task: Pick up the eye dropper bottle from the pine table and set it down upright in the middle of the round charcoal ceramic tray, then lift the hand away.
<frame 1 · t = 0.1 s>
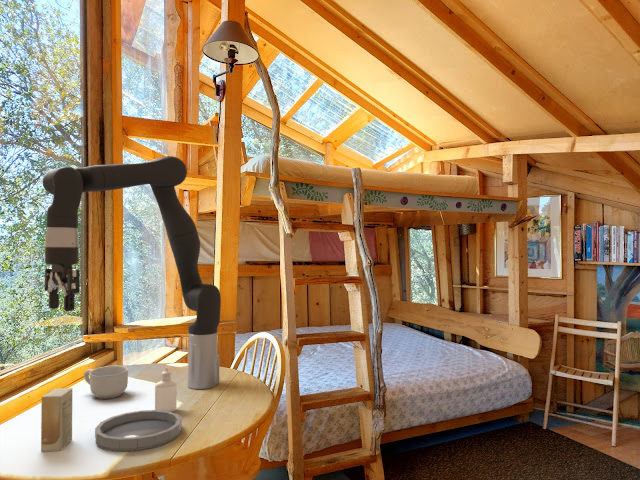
hand: (61, 309, 121), 29 cm above the table, fingers open, 8 cm apart
skincare box: (56, 446, 108), on the table
teacup: (105, 395, 145), on the table
eye dropper bottle: (165, 411, 131), on the table
round tray: (139, 435, 114), on the table
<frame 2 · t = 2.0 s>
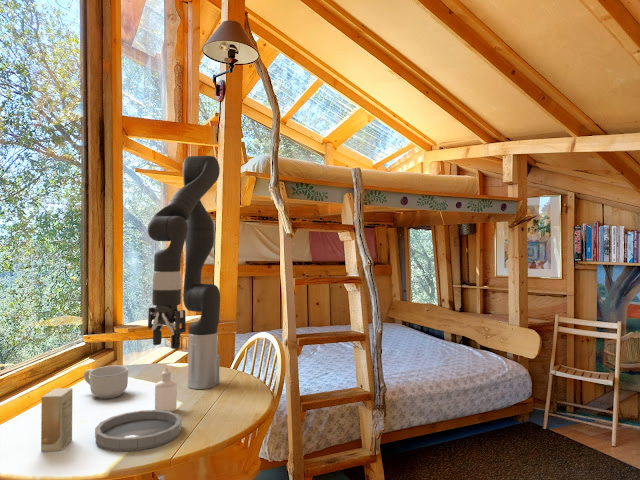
hand: (166, 346, 132), 18 cm above the table, fingers open, 8 cm apart
nothing on the table moved.
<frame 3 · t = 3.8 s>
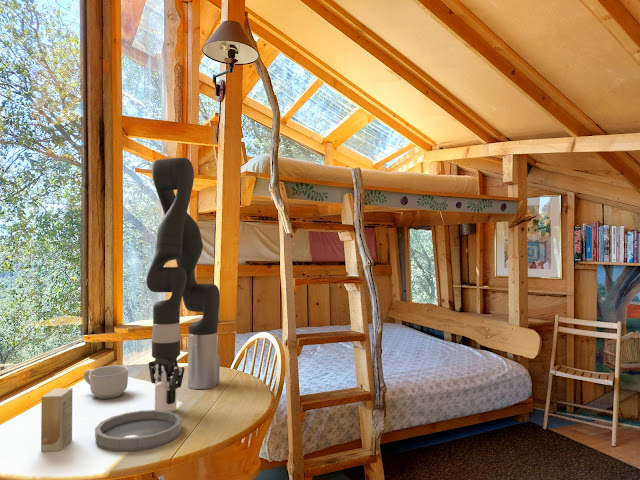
hand: (165, 401, 131), 3 cm above the table, fingers closed on eye dropper bottle, 4 cm apart
eye dropper bottle: (165, 411, 131), on the table, touching gripper
everything else where it was.
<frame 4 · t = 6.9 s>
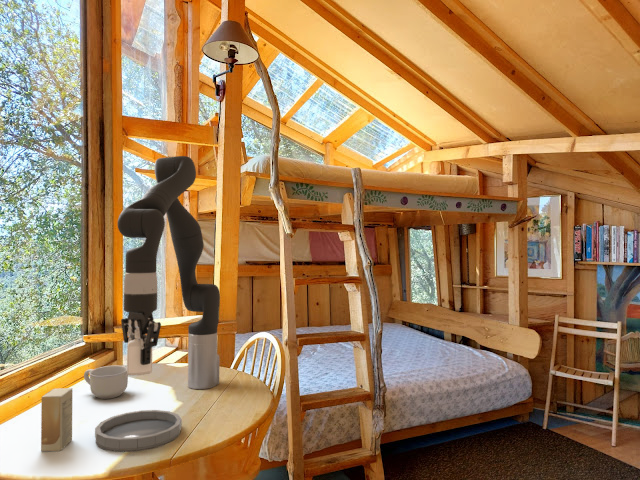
hand: (139, 362, 114), 17 cm above the table, fingers closed on eye dropper bottle, 4 cm apart
eye dropper bottle: (139, 374, 114), point 14 cm above the table, touching gripper
everything else where it was.
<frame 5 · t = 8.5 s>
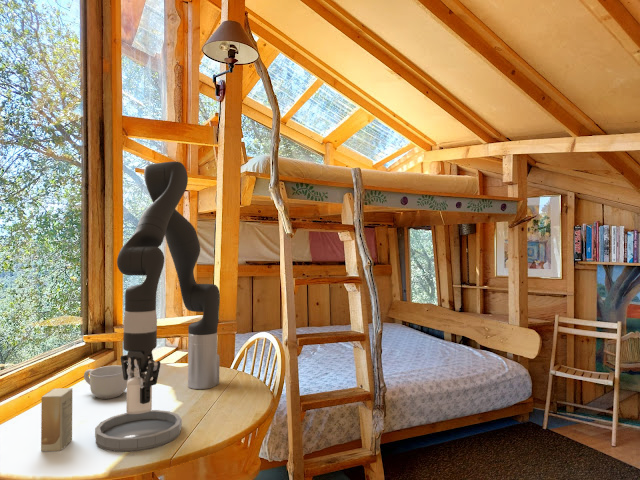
hand: (139, 400, 114), 8 cm above the table, fingers closed on eye dropper bottle, 4 cm apart
eye dropper bottle: (139, 412, 114), point 5 cm above the table, touching gripper
everything else where it was.
when the fingers open (5 cm above the table, at t = 10.0 s): eye dropper bottle drops 1 cm, resting on round tray.
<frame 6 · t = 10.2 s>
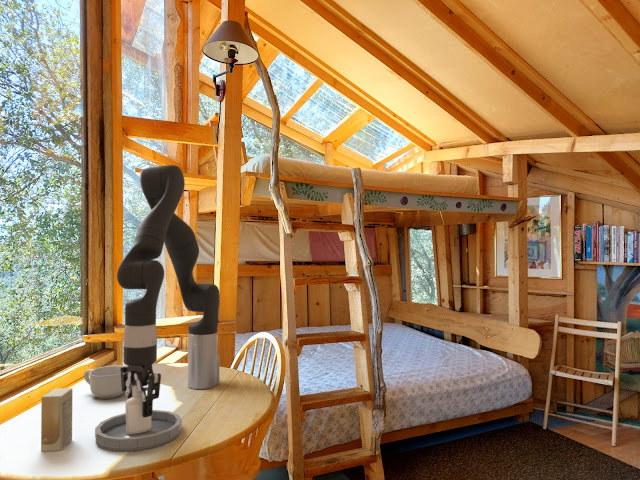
hand: (139, 413, 114), 5 cm above the table, fingers open, 6 cm apart
eye dropper bottle: (139, 432, 114), point 1 cm above the table, touching round tray
everything else where it was.
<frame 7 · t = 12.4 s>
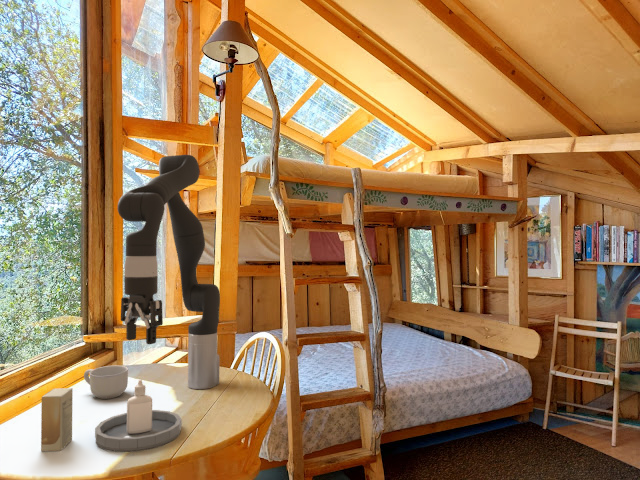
hand: (140, 341, 115), 22 cm above the table, fingers open, 8 cm apart
nothing on the table moved.
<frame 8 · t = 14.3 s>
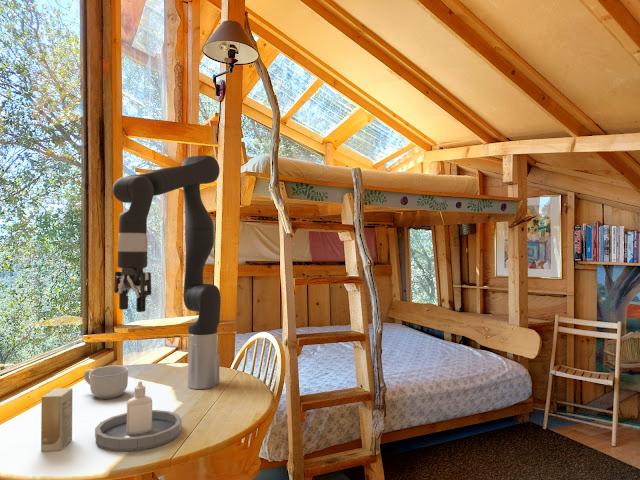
hand: (132, 310, 128), 28 cm above the table, fingers open, 8 cm apart
nothing on the table moved.
at the end: eye dropper bottle inside the target area on the round tray (0.1 cm from its centre), point 0.6 cm above the round tray's base; eye dropper bottle tilted 1°; the gripper is holding nothing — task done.
